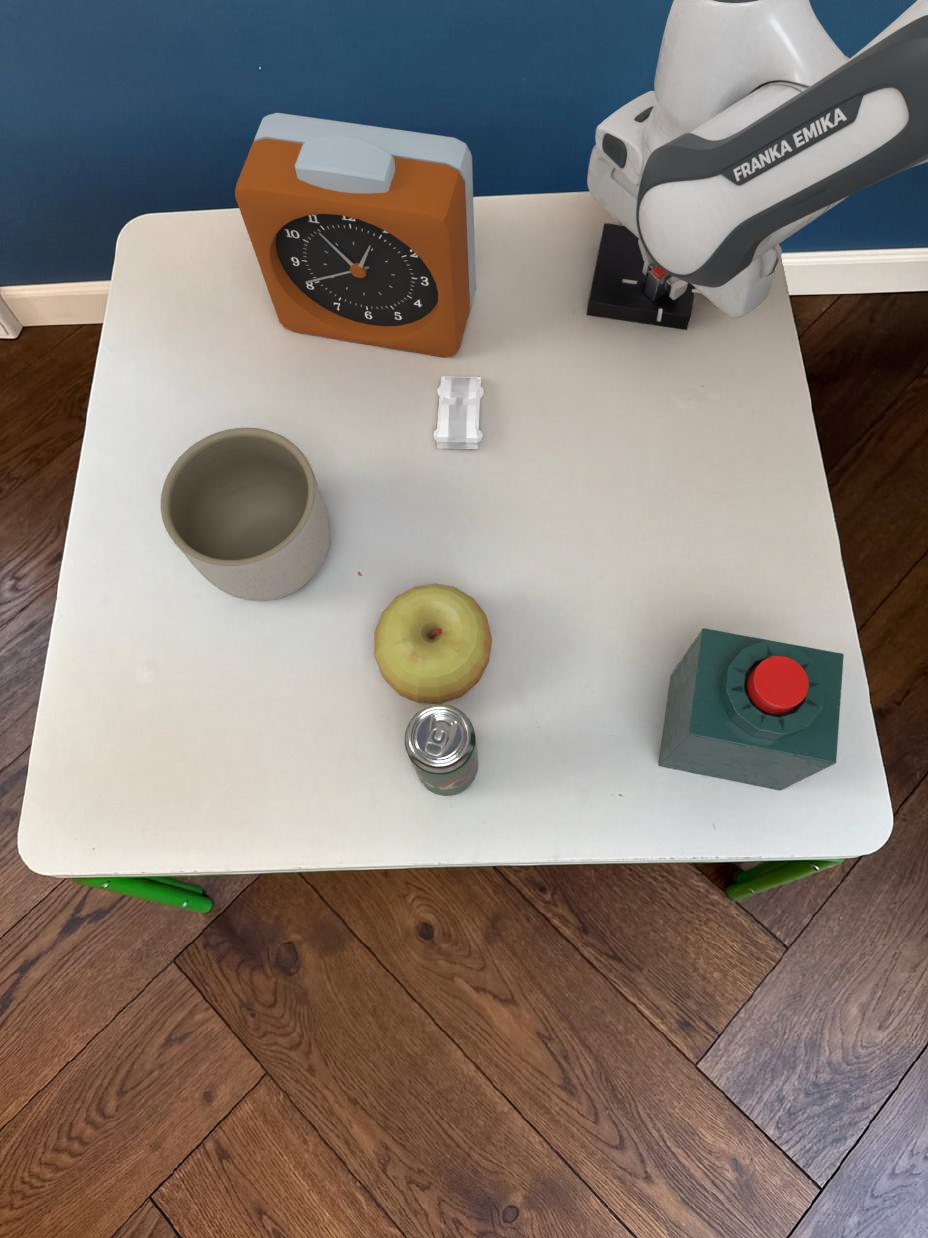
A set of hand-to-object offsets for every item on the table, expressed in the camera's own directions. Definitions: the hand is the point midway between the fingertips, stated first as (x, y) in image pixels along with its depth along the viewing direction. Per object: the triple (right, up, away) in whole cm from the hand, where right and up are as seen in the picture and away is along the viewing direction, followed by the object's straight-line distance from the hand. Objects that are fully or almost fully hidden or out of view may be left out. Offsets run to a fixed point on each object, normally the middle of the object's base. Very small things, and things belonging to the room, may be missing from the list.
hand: (663, 283), depth 85 cm
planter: (-37, -26, -5) cm, 46 cm away
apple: (-22, -36, -9) cm, 43 cm away
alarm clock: (-28, -2, +4) cm, 28 cm away
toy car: (-20, -13, -1) cm, 24 cm away
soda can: (-21, -45, -12) cm, 51 cm away
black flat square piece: (-1, +1, +4) cm, 4 cm away
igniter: (+2, -42, -12) cm, 44 cm away
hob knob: (0, 0, +1) cm, 1 cm away
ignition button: (+2, -37, -25) cm, 45 cm away
